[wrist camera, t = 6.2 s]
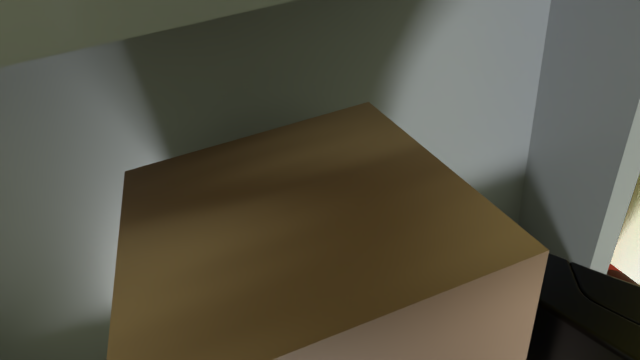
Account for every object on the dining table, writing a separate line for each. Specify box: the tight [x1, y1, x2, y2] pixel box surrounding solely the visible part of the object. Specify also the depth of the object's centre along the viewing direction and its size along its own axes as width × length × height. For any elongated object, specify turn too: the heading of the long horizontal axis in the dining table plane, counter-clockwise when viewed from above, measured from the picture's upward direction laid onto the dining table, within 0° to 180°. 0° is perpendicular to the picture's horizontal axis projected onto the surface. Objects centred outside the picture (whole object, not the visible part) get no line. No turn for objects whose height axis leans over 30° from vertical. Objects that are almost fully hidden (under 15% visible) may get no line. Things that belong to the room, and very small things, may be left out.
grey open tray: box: [0, 0, 640, 360], centre depth 11 cm, size 19×12×6 cm, turn 98°
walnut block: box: [106, 102, 549, 360], centre depth 8 cm, size 5×5×5 cm
